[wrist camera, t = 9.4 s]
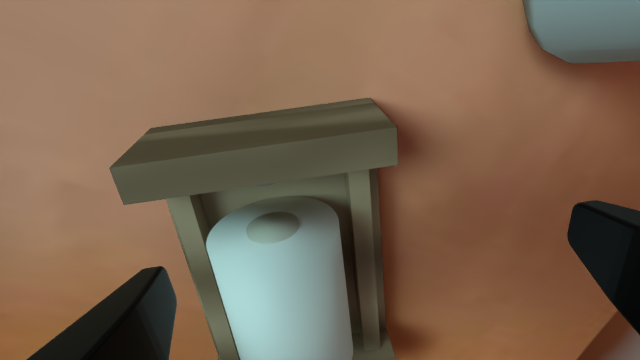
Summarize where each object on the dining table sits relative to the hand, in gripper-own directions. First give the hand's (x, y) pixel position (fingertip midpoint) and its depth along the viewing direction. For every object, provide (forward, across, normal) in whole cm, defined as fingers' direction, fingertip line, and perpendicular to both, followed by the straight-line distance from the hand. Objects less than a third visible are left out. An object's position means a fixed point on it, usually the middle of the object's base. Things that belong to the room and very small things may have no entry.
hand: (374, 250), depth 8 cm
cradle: (+12, +3, +8) cm, 15 cm away
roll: (+11, +3, +8) cm, 14 cm away
